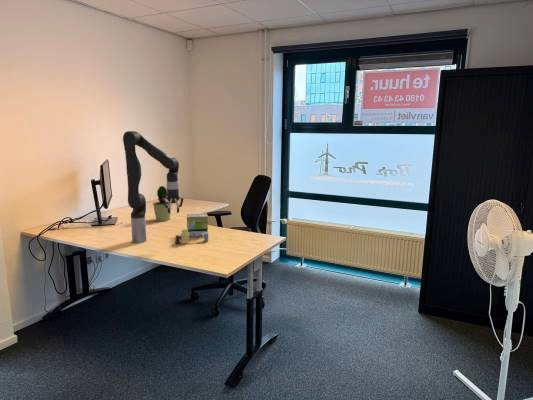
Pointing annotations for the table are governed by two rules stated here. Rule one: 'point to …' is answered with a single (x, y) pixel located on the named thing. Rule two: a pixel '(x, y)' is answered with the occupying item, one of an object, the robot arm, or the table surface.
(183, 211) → the table surface
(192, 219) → the tea box
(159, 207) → the potted cactus
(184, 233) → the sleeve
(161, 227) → the table surface
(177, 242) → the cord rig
